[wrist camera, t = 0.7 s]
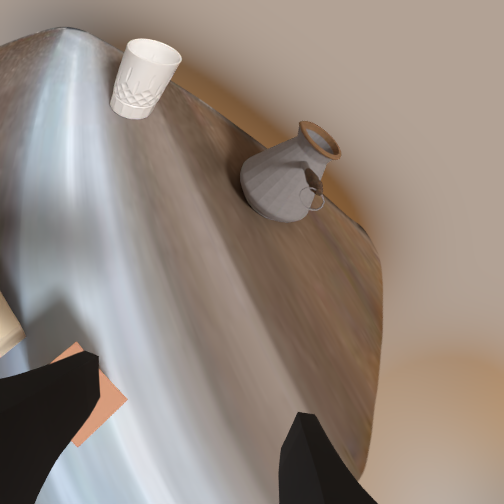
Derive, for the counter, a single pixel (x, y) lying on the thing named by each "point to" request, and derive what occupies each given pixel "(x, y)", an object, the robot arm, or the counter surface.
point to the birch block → (8, 328)
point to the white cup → (143, 77)
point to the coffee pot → (289, 174)
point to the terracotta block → (104, 407)
